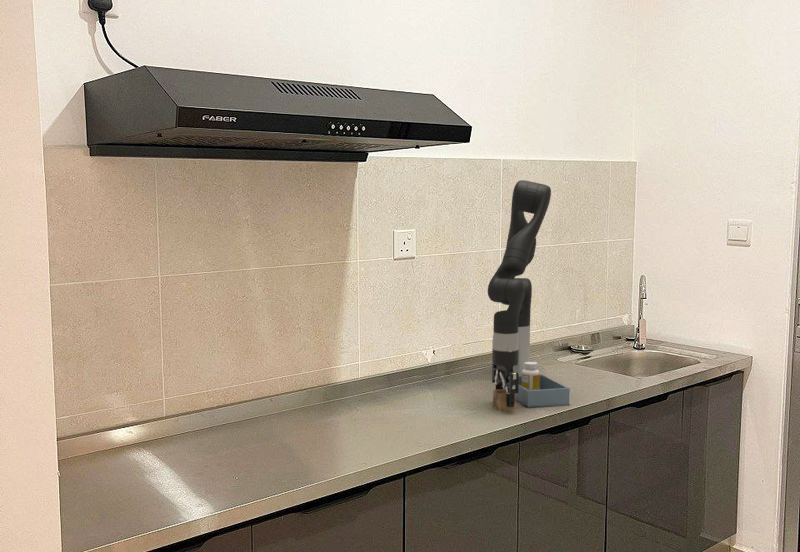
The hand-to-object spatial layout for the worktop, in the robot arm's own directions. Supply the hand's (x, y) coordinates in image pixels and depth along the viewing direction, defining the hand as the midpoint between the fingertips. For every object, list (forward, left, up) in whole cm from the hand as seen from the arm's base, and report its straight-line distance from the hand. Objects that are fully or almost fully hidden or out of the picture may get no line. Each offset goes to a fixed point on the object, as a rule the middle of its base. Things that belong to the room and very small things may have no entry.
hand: (504, 403), depth 222 cm
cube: (0, 0, -2) cm, 2 cm away
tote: (-7, +13, -1) cm, 15 cm away
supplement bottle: (-11, +13, -1) cm, 17 cm away
